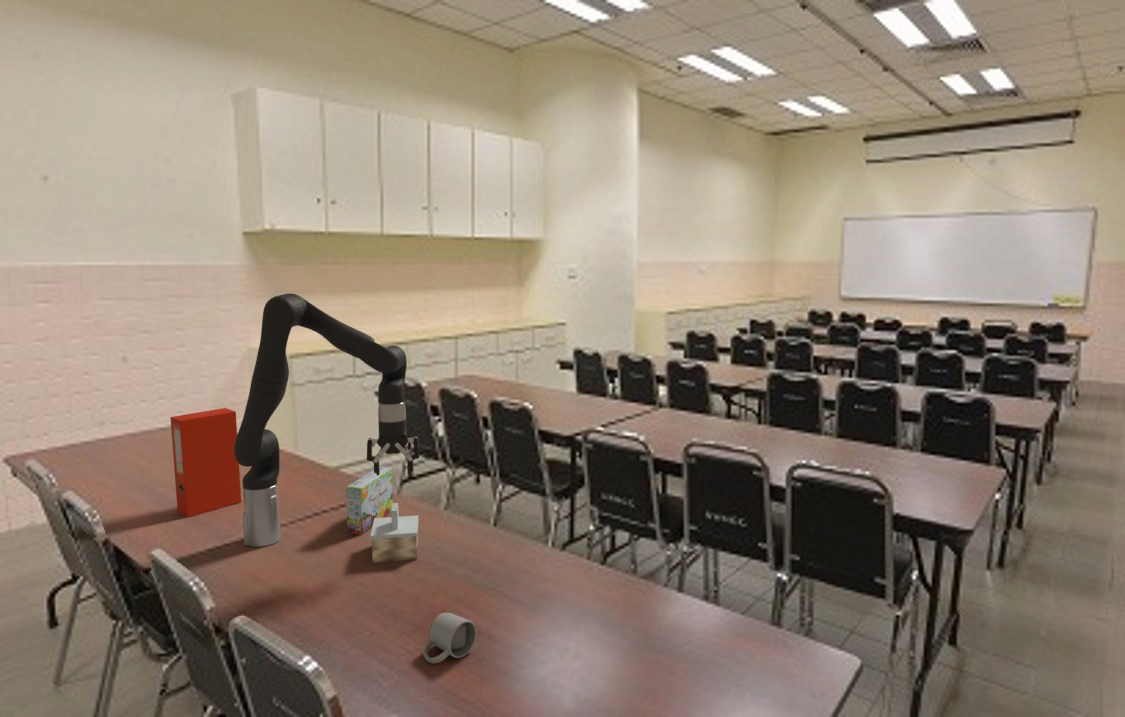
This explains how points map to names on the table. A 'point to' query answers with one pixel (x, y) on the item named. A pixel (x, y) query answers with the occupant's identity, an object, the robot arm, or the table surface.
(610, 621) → the table surface
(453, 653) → the ceramic mug
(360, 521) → the snack box
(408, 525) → the lid
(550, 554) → the table surface
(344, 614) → the table surface
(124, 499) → the table surface
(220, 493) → the file binder
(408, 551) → the box
